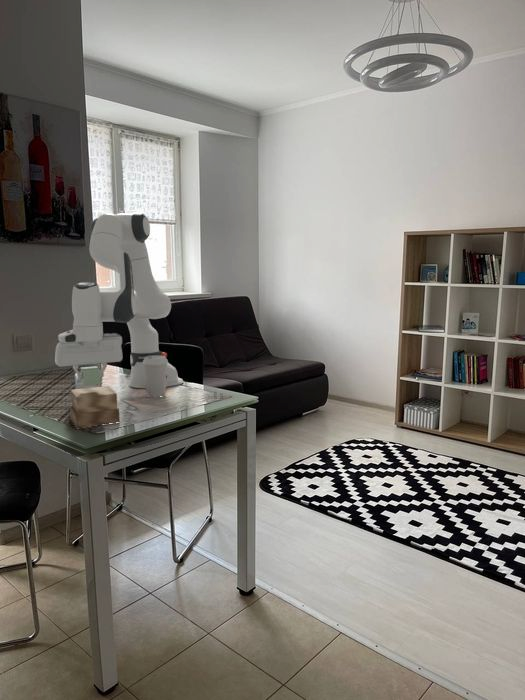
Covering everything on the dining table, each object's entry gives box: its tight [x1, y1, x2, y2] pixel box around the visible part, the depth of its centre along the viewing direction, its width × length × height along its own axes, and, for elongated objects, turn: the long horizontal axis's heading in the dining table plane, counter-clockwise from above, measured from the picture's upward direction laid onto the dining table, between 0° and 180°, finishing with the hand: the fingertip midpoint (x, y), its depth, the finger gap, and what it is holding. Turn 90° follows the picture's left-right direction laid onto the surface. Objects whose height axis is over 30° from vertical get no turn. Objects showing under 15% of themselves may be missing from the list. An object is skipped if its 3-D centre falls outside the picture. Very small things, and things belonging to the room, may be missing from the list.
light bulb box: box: [74, 372, 97, 390], centre depth 186 cm, size 11×7×11 cm, turn 23°
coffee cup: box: [143, 356, 169, 398], centre depth 198 cm, size 10×10×15 cm
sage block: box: [80, 365, 102, 386], centre depth 164 cm, size 5×5×5 cm
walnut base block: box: [69, 404, 121, 429], centre depth 166 cm, size 13×13×5 cm
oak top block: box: [70, 385, 118, 414], centre depth 166 cm, size 12×12×5 cm
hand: (90, 377), depth 164 cm, fingers closed on sage block, 5 cm apart
